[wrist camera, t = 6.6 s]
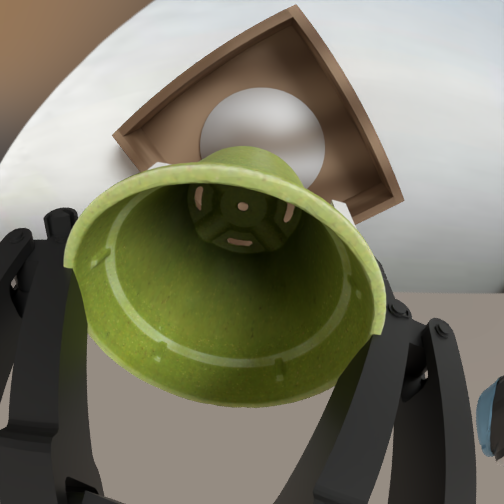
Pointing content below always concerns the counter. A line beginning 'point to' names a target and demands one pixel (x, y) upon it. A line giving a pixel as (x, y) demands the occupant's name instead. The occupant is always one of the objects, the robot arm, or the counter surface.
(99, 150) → the counter surface
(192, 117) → the brown wooden square tray
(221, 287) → the plant pot
